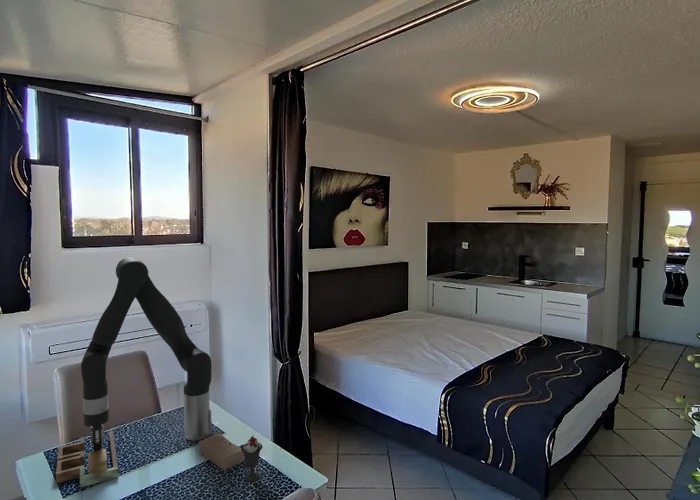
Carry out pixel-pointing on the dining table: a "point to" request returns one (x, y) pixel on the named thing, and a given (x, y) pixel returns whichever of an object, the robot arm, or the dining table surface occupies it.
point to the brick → (221, 451)
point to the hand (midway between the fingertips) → (97, 457)
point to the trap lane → (74, 459)
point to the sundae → (251, 457)
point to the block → (97, 461)
